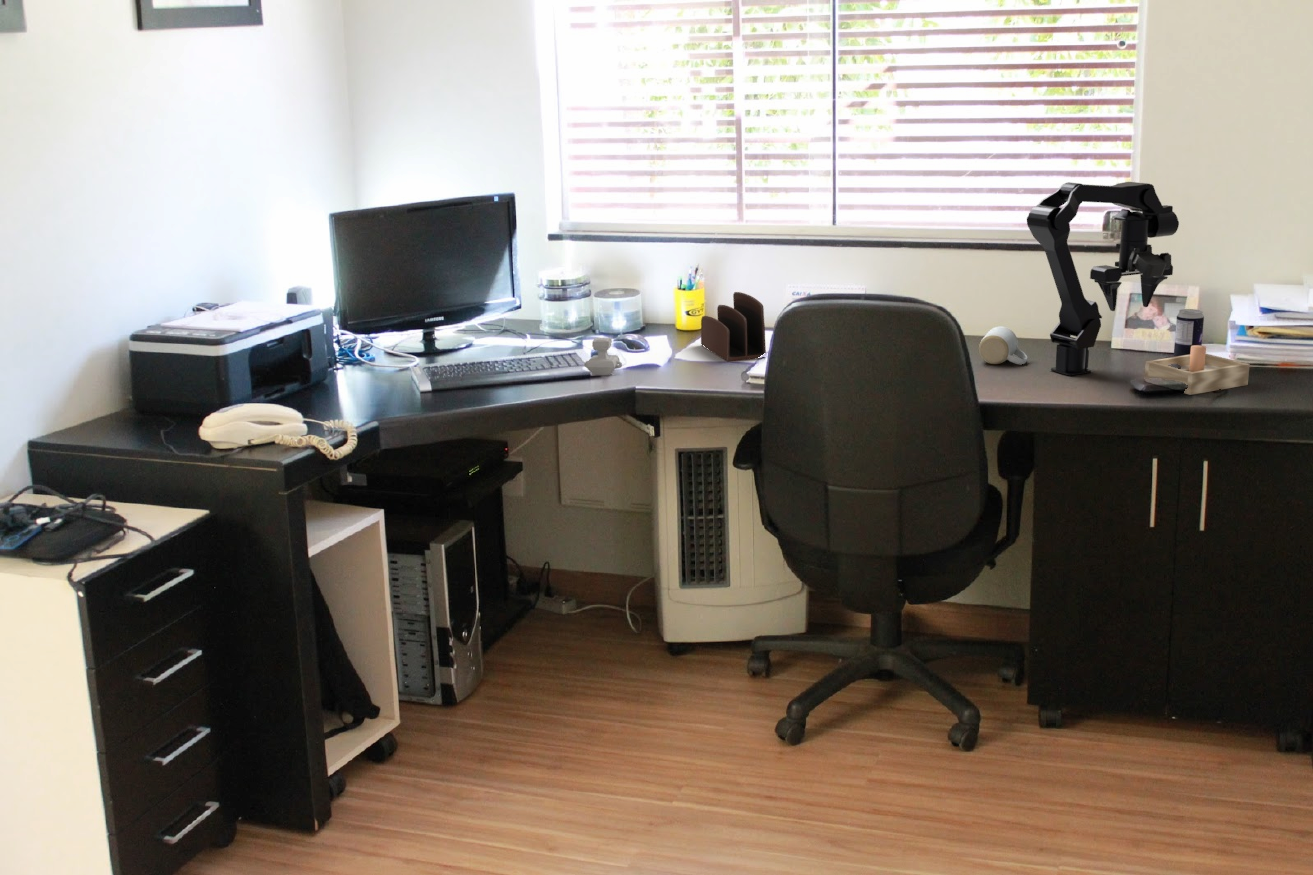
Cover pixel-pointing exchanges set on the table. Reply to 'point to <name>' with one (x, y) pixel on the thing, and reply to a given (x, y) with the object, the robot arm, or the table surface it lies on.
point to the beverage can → (1188, 331)
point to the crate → (1200, 373)
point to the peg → (1197, 358)
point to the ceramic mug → (1001, 347)
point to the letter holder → (736, 330)
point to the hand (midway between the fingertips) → (1129, 308)
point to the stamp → (602, 358)
